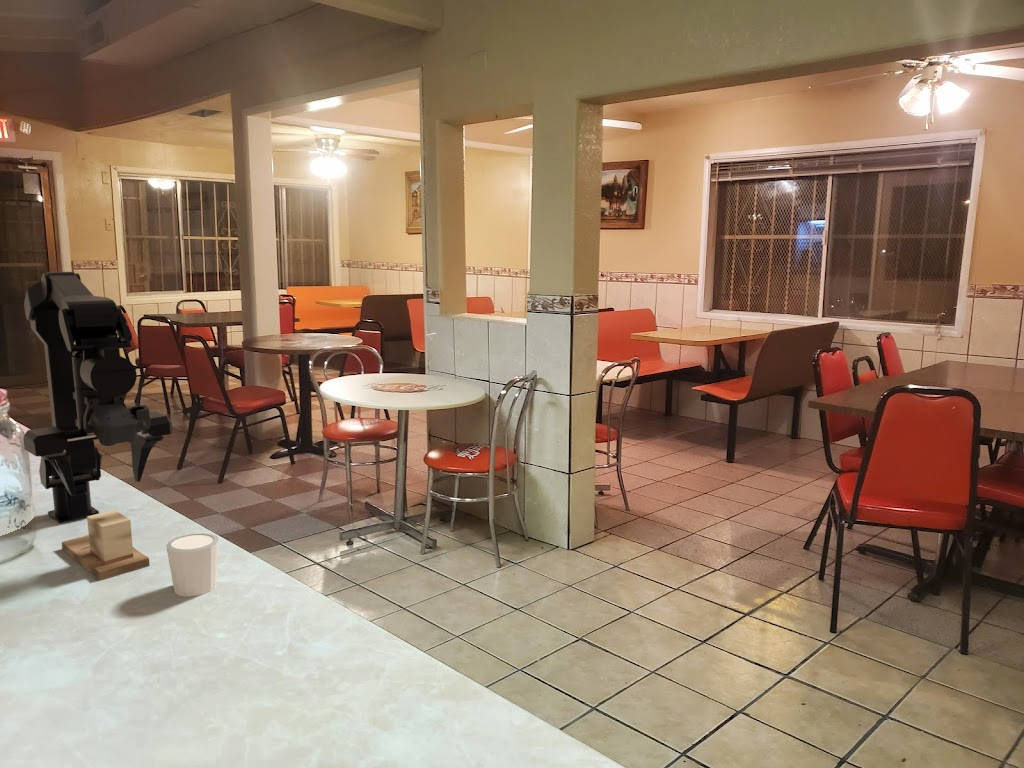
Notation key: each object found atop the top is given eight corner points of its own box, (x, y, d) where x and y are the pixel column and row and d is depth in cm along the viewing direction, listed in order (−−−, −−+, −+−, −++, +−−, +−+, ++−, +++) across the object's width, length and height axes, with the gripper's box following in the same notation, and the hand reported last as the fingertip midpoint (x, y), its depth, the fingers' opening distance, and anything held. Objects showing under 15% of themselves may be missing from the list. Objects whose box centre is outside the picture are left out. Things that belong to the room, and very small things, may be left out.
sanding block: (90, 553, 115) (86, 516, 114) (117, 546, 118) (114, 509, 117) (105, 565, 111) (101, 526, 110) (133, 557, 114) (130, 519, 113)
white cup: (209, 599, 104) (206, 551, 102) (160, 598, 104) (156, 550, 103) (228, 577, 110) (226, 532, 109) (182, 576, 111) (179, 531, 109)
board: (62, 548, 119) (61, 541, 119) (109, 536, 124) (108, 529, 124) (100, 580, 109) (99, 572, 109) (149, 565, 114) (149, 558, 114)
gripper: (43, 403, 97) (54, 517, 100) (185, 385, 111) (191, 486, 114) (17, 391, 105) (28, 497, 108) (153, 375, 118) (160, 470, 121)
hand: (105, 487), depth 112 cm, fingers open, 9 cm apart
